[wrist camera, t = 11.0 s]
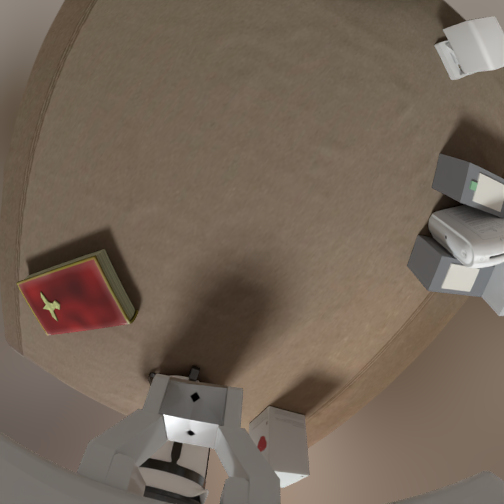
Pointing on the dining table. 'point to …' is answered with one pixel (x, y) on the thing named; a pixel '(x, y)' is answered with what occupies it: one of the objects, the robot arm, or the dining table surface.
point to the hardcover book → (78, 295)
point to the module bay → (439, 258)
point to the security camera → (472, 47)
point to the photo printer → (469, 235)
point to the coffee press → (177, 468)
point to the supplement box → (282, 443)
